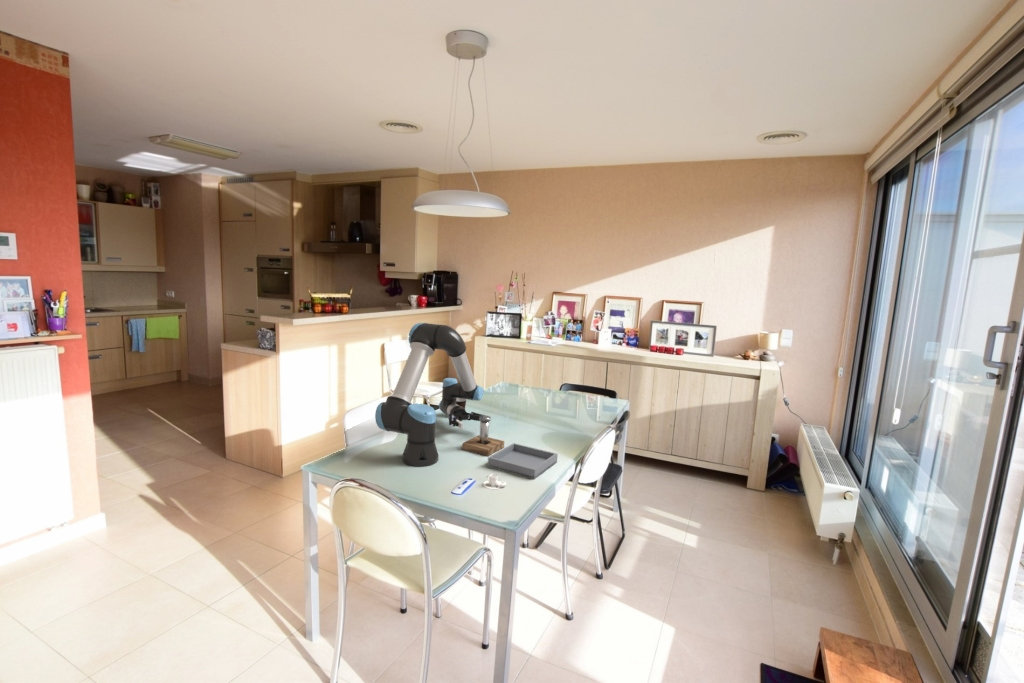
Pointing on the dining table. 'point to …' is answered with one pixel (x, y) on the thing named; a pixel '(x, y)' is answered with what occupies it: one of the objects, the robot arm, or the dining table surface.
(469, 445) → the socket block
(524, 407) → the dining table surface
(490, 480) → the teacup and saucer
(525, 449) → the tray
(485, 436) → the lock pin
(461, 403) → the coffee mug
